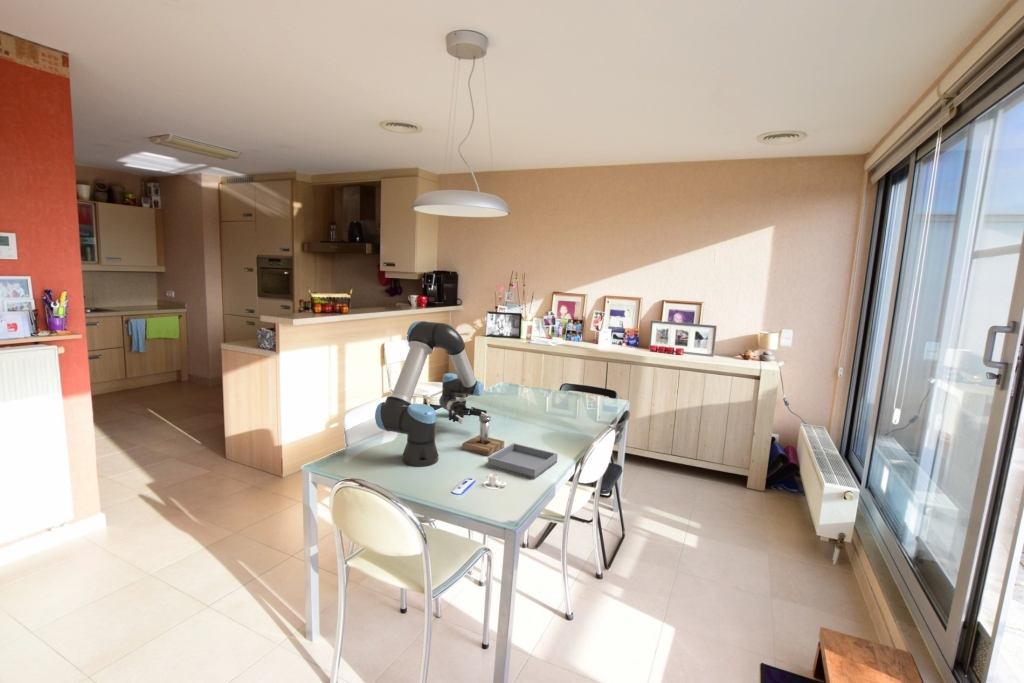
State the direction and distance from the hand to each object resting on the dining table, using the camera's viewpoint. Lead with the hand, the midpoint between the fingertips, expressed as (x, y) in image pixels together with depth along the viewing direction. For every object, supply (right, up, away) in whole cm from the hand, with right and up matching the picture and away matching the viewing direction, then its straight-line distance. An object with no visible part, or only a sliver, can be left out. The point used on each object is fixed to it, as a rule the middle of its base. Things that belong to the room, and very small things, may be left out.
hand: (475, 420), depth 239 cm
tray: (+22, -15, -24) cm, 36 cm away
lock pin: (+4, -12, -7) cm, 15 cm away
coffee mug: (-14, -4, +39) cm, 42 cm away
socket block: (+4, -12, -7) cm, 15 cm away
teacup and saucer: (+11, -19, -48) cm, 53 cm away
